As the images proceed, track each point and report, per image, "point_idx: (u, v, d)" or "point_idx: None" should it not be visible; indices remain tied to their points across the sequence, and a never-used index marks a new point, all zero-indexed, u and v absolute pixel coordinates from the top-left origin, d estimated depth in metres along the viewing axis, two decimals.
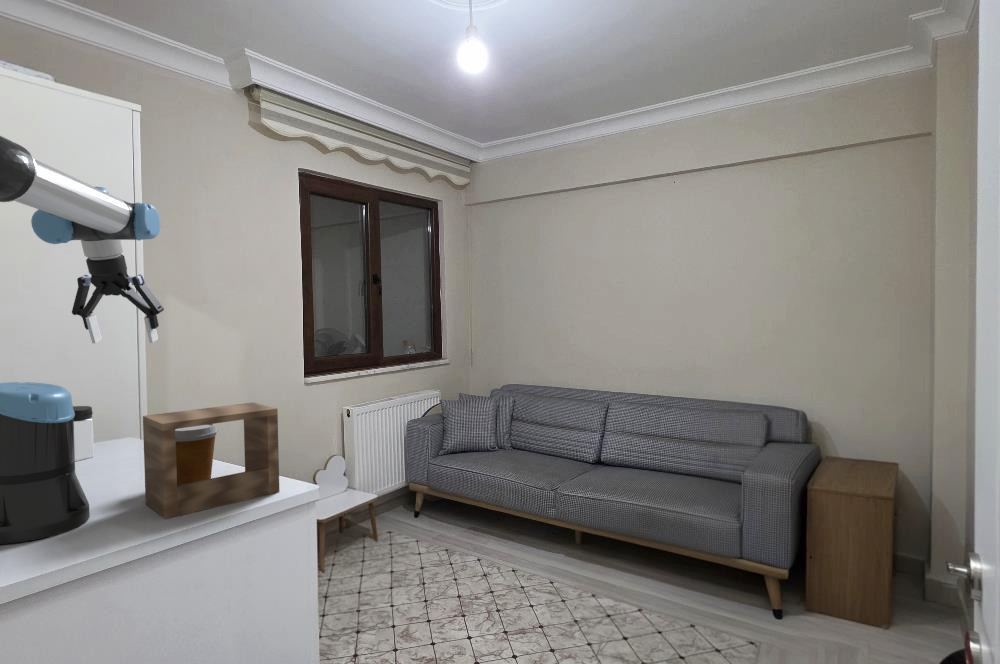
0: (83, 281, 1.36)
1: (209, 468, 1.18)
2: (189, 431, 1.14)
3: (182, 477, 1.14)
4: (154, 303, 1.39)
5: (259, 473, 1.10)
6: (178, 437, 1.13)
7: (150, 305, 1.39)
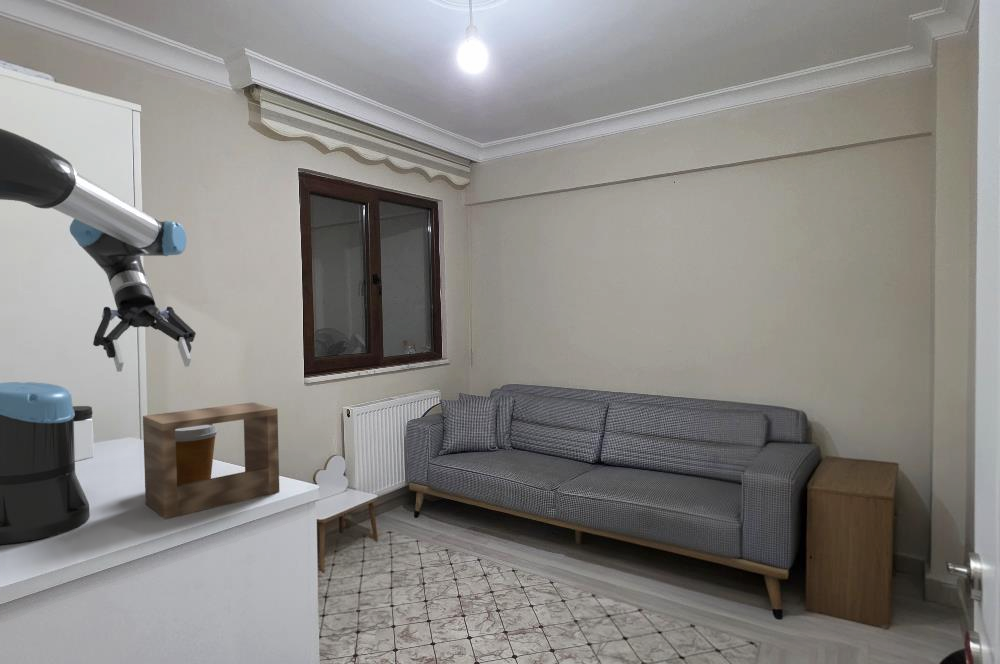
0: (110, 310, 1.28)
1: (209, 468, 1.18)
2: (189, 431, 1.14)
3: (182, 477, 1.14)
4: None
5: (259, 473, 1.10)
6: (178, 437, 1.13)
7: (186, 327, 1.35)
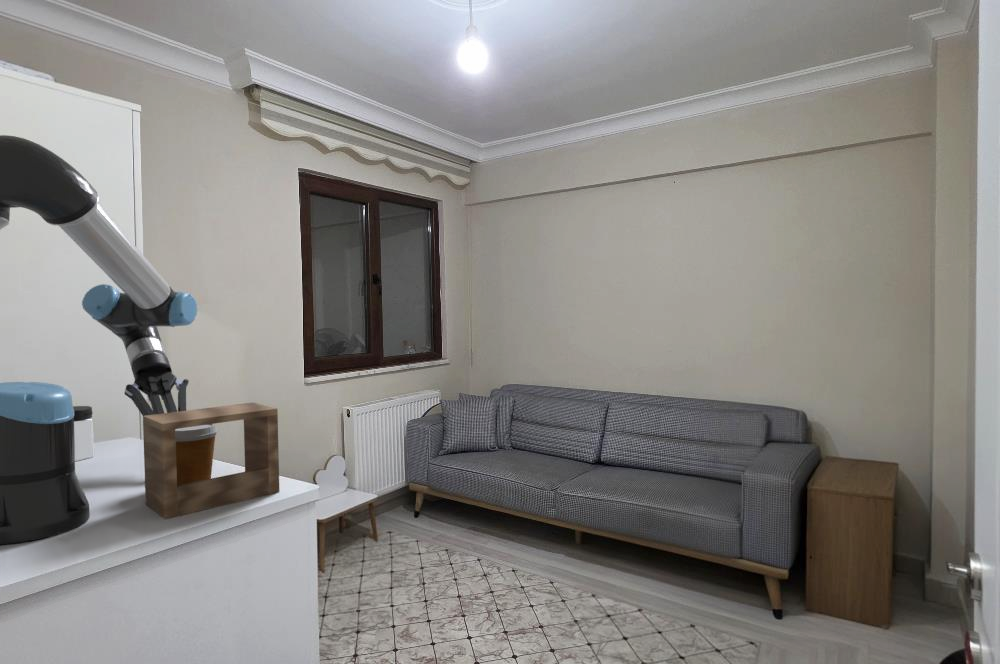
0: None
1: (209, 468, 1.18)
2: (189, 431, 1.14)
3: (182, 477, 1.14)
4: (185, 405, 1.32)
5: (259, 473, 1.10)
6: (178, 437, 1.13)
7: (182, 403, 1.31)
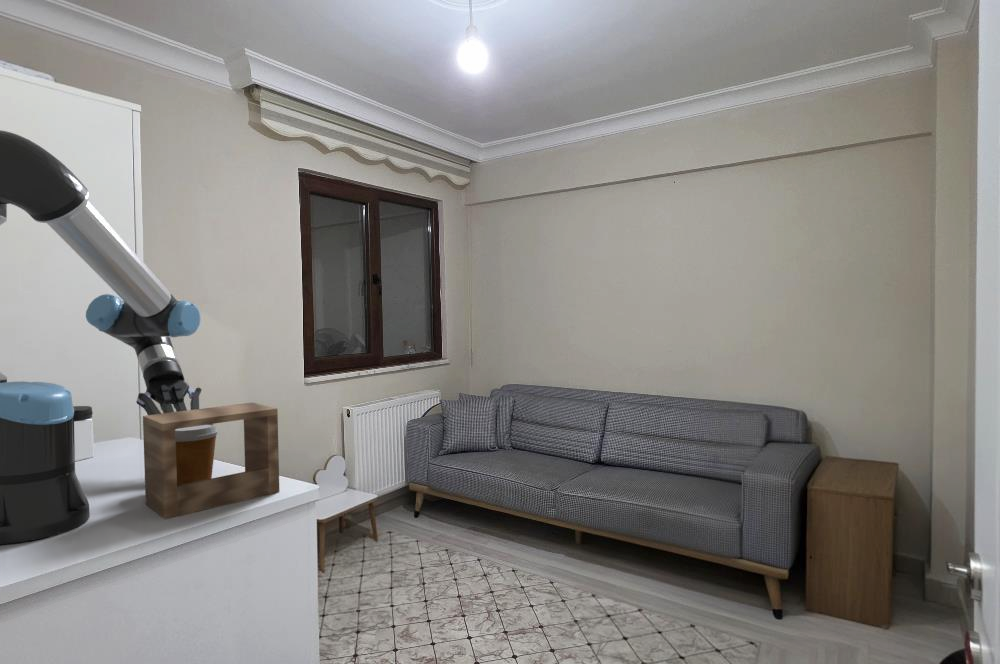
0: None
1: (210, 468, 1.17)
2: (189, 431, 1.13)
3: (182, 477, 1.14)
4: None
5: (259, 473, 1.10)
6: (179, 437, 1.13)
7: None
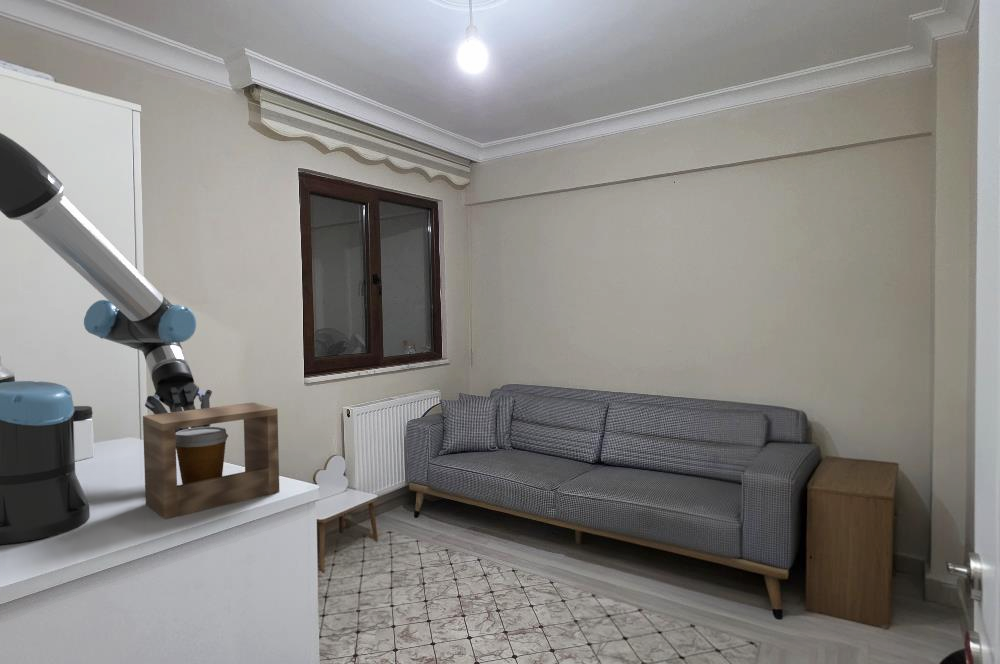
0: None
1: (217, 476, 1.12)
2: (194, 436, 1.08)
3: None
4: None
5: (259, 473, 1.10)
6: (184, 443, 1.08)
7: None
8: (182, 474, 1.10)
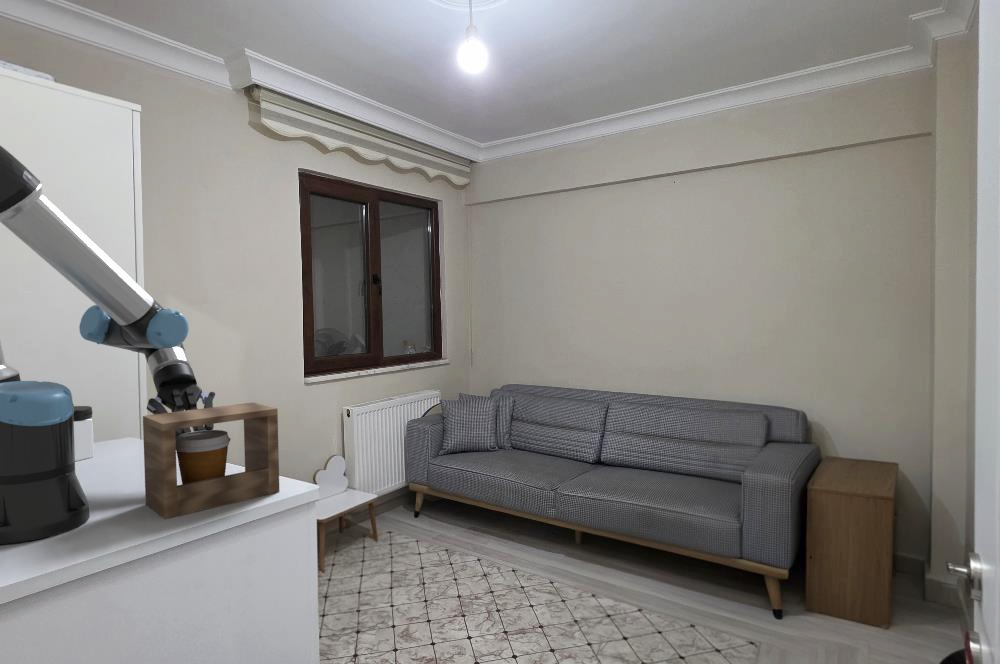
0: None
1: None
2: (193, 441, 1.05)
3: None
4: None
5: (259, 473, 1.10)
6: (183, 447, 1.05)
7: None
8: (182, 479, 1.07)
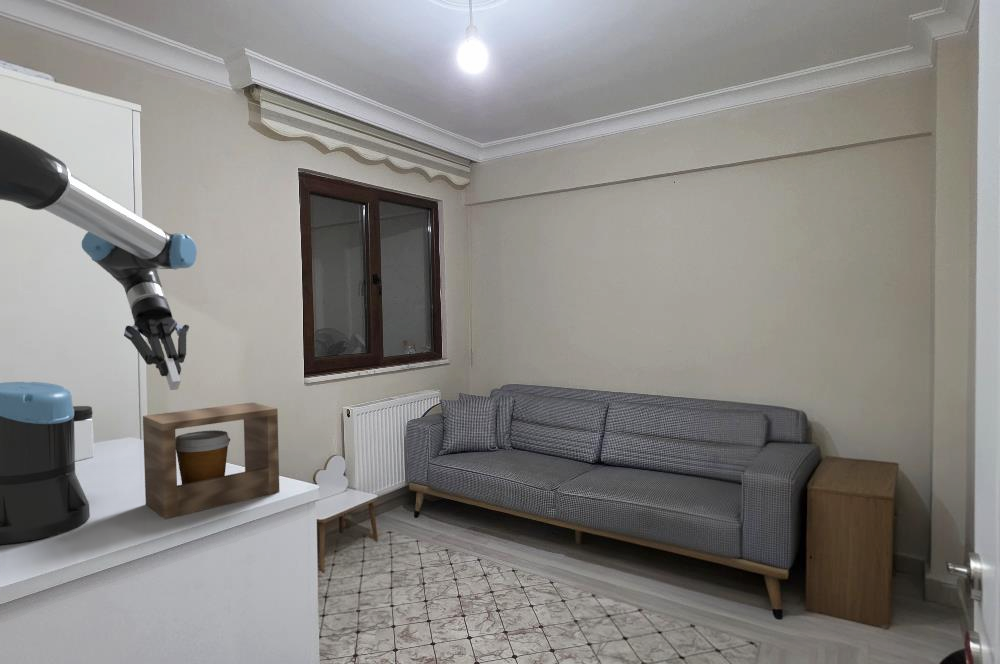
0: None
1: None
2: (194, 441, 1.05)
3: None
4: (185, 349, 1.30)
5: (259, 473, 1.10)
6: (183, 447, 1.05)
7: (182, 347, 1.30)
8: (182, 479, 1.07)
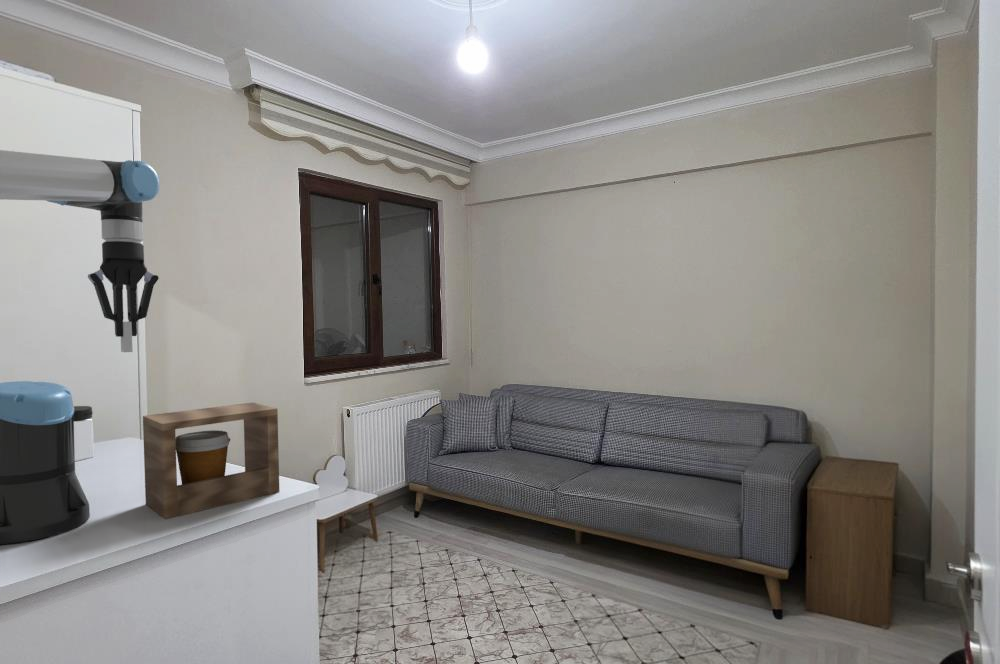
0: (97, 276, 1.22)
1: None
2: (194, 441, 1.05)
3: None
4: None
5: (259, 473, 1.10)
6: (183, 447, 1.05)
7: (144, 306, 1.28)
8: (182, 479, 1.07)
